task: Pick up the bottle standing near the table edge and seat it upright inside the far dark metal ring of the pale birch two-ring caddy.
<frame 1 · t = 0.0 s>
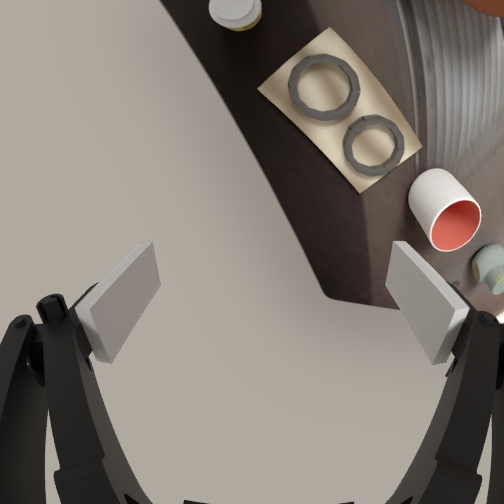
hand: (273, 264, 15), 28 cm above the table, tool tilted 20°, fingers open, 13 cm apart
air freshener: (483, 254, 49), on the table
supplement bottle: (240, 13, 25), on the table
caddy: (348, 114, 34), on the table
cup: (429, 190, 41), on the table
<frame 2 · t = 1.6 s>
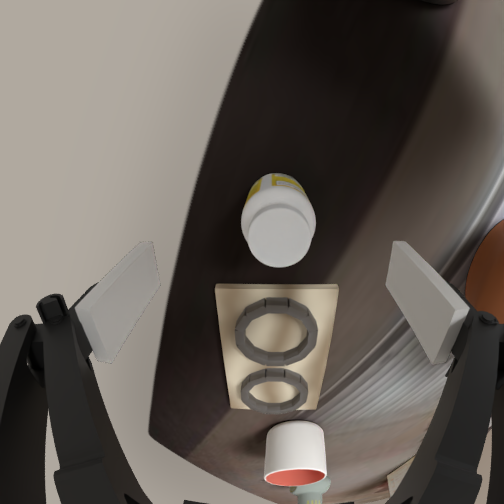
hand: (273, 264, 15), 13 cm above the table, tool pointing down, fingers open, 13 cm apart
coffeecake box: (409, 463, 52), on the table
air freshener: (309, 475, 53), on the table
supplement bottle: (277, 200, 26), on the table
caddy: (275, 357, 34), on the table
cup: (295, 430, 42), on the table
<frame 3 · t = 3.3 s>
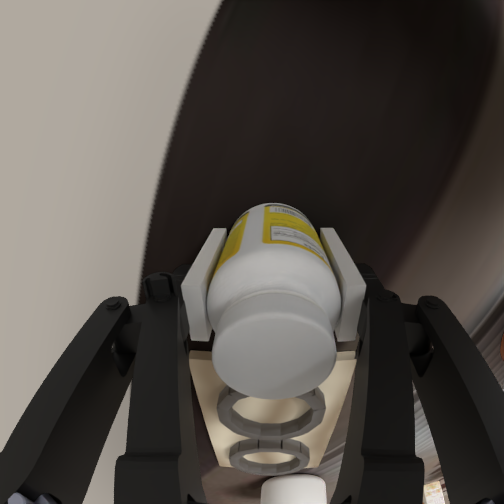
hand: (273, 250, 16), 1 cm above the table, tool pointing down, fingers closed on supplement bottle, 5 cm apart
coffeecake box: (414, 492, 43), on the table
supplement bottle: (273, 243, 17), on the table, touching gripper
caddy: (270, 425, 25), on the table
cup: (293, 480, 33), on the table
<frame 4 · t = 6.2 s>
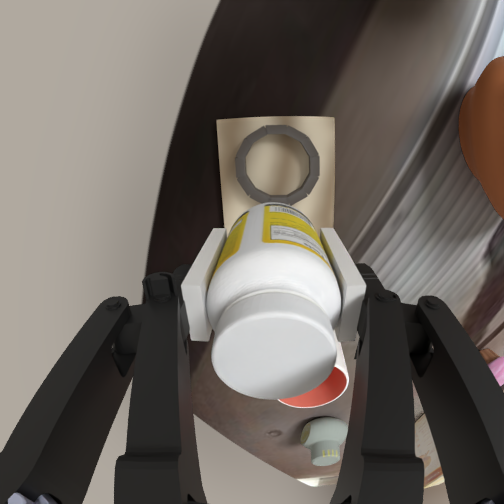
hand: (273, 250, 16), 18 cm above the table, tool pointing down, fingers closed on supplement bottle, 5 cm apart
coffeecake box: (431, 412, 51), on the table
cupcake: (479, 354, 42), on the table
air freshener: (322, 422, 52), on the table
supplement bottle: (273, 242, 17), point 17 cm above the table, touching gripper
caddy: (278, 209, 34), on the table
cup: (305, 336, 42), on the table
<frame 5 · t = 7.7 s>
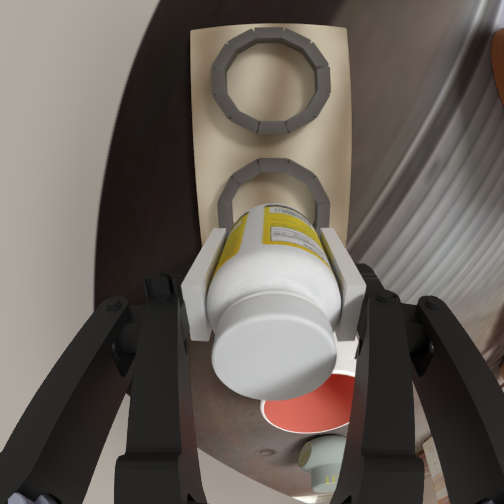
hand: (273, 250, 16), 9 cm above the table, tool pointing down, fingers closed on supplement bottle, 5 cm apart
coffeecake box: (450, 424, 40), on the table
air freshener: (325, 441, 41), on the table
supplement bottle: (273, 243, 17), point 8 cm above the table, touching gripper
caddy: (272, 145, 22), on the table
cup: (308, 334, 30), on the table
when the fingers open (4 cm above the table, at t = 9.0 s): supplement bottle drops 2 cm, resting on caddy.
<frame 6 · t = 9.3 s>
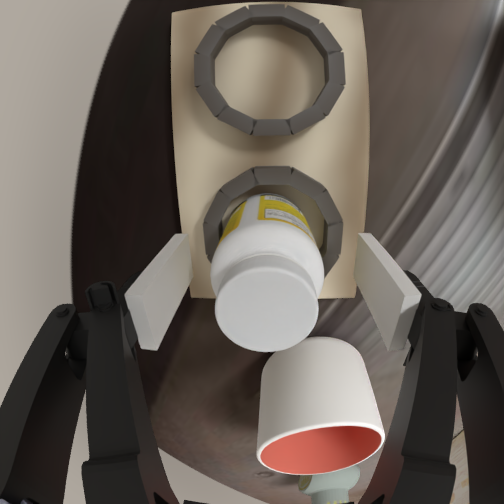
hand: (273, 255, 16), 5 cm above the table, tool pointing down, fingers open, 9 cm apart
coffeecake box: (456, 441, 36), on the table
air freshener: (327, 463, 36), on the table
supplement bottle: (268, 229, 20), point 1 cm above the table, touching caddy
caddy: (272, 149, 18), on the table
cup: (312, 366, 26), on the table
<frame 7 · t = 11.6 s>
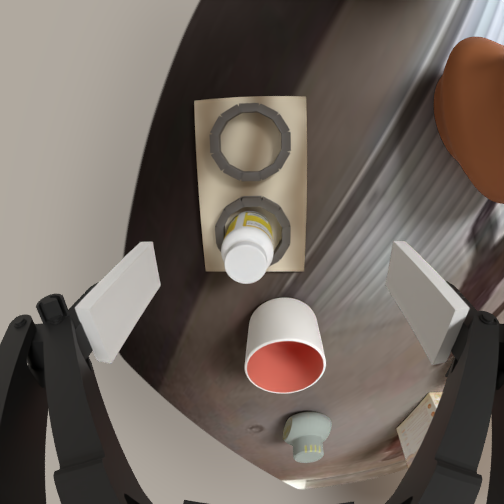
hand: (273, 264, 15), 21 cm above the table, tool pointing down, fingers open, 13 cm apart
potted plant: (483, 116, 27), on the table
coffeecake box: (420, 410, 51), on the table
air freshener: (305, 418, 52), on the table
supplement bottle: (250, 230, 35), point 1 cm above the table, touching caddy
caddy: (252, 186, 34), on the table
cup: (282, 321, 42), on the table
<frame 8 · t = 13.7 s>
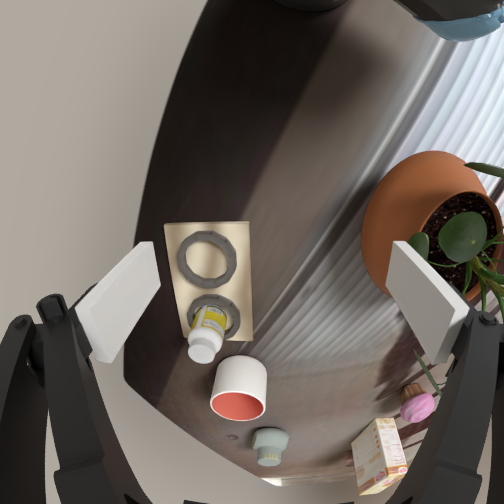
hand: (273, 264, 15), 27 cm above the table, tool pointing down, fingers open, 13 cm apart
potted plant: (424, 211, 39), on the table
coffeecake box: (371, 430, 64), on the table
cupcake: (409, 387, 56), on the table
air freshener: (270, 431, 65), on the table
supplement bottle: (212, 315, 48), point 1 cm above the table, touching caddy
caddy: (212, 285, 47), on the table
cup: (242, 368, 55), on the table
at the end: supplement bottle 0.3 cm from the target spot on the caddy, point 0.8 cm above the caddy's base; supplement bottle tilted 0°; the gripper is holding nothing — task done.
